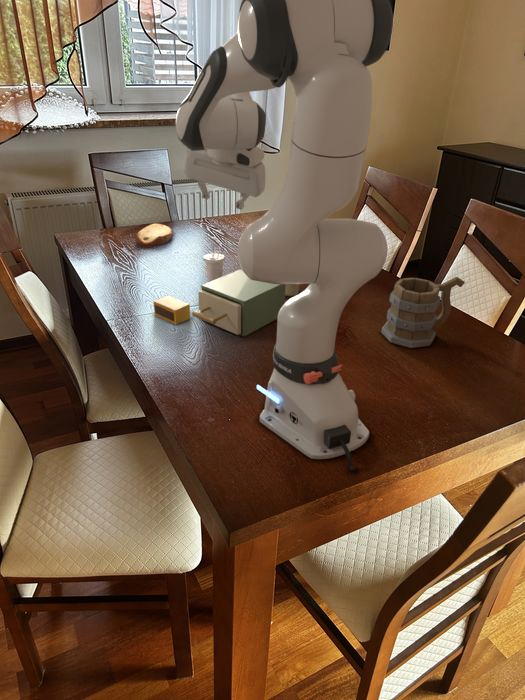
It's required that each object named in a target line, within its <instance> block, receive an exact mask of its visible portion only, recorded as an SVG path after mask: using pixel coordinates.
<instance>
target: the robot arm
mask: <svg viewBox="0 0 525 700" xmlns="http://www.w3.org/2000/svg"><path fill="white" fill-rule="evenodd" d="M393 25H394V16H393V9H392V5H391V2H390V0H241V3H240V6H239V12H238V20H237V31H236V33H235V34H233V36H232V37H231V38H230V39H229V40H227V41H226V42H225V43H224V44H222V45H220V46H219V47H217V48H215V49H214V50H213V51H212V52H211V53H210V55H209V56H208V58H207V60H206V61H205V63H204V65H203V67H202V69H201V71H200V73H199V74H198V76H197V78H196V80H195V82H194V84H193V86H192V88H191V89H190V92H189V93H188V95H187V96H186V97H185V98H184V100H183V101H182V102H181V103H180V104H179V106H178V109H177V112H176V115H175V116H176V118H175V128H176V129H175V130H176V134H177V138H178V140H179V141H180V142H181V144H182V145H183V146H185V152H186V155H185V163H184V175H185V176H186V177H187V178H188V179H190V180H195V181H197V186H198V188H199V190H200V192H201V199H203V200H209V199H210V198H211V190H209V189H208V187H207V185H208V184H209V185H210V186H211V185H212V186H214V187H215V186H216V187H219V188H222V189H226V190H229V191H232V192H237V193H240V197H241V199H238V200H236V202H235V209H238V210H241V211H243V209H244V208H245V202H246V200H247V199H248V198H249V196H250V197H254V198H257V197H259V196H261V195H262V194H263V193H264V192H265V189H266V166H265V164H264V163H263V162H262V161H264V159H265V151H264V150H262V148H260V147H258V145H259V144H260V143H261V142H262V140H263V139H264V137H265V135H266V134H265V133H266V124H267V123H266V121H267V116H266V112H265V110H264V109H263V108H262V107H261V106H260V104H259V103H258V102H256V101H255V100H253V97H252V95H251V92H260V91H268V90H269V91H270V90H273V89H276V88H278V89H279V88H281V87H283V86H284V84H285V83H287V82H286V81H288V80H289V81H290V83H291V84H292V87H293V89H294V94H295V110H294V117H293V123H292V131H291V140H290V149H289V156H288V157H289V158H288V164H287V170H286V175H285V179H284V180H285V181H284V185H283V187H282V189H281V192H280V194H279V195H278V197H277V198H276V200H275V202H273V205H271V207H270V208H269V209H268V210H267V211H266V212H265V213H264V214H263V215H262V216H260V217H259V218H257V219H256V220H254V221H252V222H251V223H250V224H248V225H247V226H246V227H245V229H244V230H243V232H242V233H241V235H240V237H239V240H238V242H237V243H238V244H237V250H236V251H237V252H236V253H237V260H238V264H239V265H240V269H242V270H243V272H244V273H245V274H246V275H247V277H249V278H250V279H251V280H255V281H260V282H265V283H271V284H299V285H304V284H305V285H306V284H309V285H308V286H307V287H306V288H305V289H304V290H303V291H301V292H300V293H298V294H297V295H295V296H291V297H290V298H289V299H287V300H285V303H284V305H283V306H282V307H281V309H280V311H279V313H278V318H277V319H276V321H277V323H276V341H275V343H274V347H273V350H272V351H273V352H272V365H273V370H272V373H271V376H270V378H269V380H268V383H267V389H265V388H263V387H262V386H261V385H259V384H257V385H256V389H257V390H258V391H259V392H261V393H262V394H264V395H265V402H264V409H263V410H262V412H261V413H260V415H259V418H258V419H259V423H261V424H262V425H263V426H265V427H266V428H267V429H269V430H270V431H272V432H273V433H274V434H276V435H277V436H278V437H280V438H281V439H282V440H284V441H285V442H287V443H288V444H290V445H291V446H293V447H294V448H295V449H297V450H298V451H299V452H301V453H302V454H303V455H305V456H306V457H308V458H310V459H311V460H327V459H333V458H336V457H340V456H343V455H346V458H347V459H346V460H347V466H348V469H349V470H350V471H351V472H355V471H356V468H355V467H354V465H353V457H352V454H351V452H353V451H355V450H357V449H358V448H360V447H362V446H363V445H364V444H366V442H367V441H368V440H369V437H370V430H369V429H368V428H367V427H366V426H365V424H364V423H363V422H362V421H361V419H360V418H359V408H358V405H357V404H356V393H355V391H354V389H348V387H347V385H346V384H345V381H344V380H343V378H342V376H341V375H340V373H339V372H340V371H342V370H343V369H342V367H343V364H339V362H338V355H337V350H336V347H335V346H336V340H337V339H336V338H337V332H338V329H339V328H338V327H339V323H340V318H341V316H342V313H343V311H344V309H345V308H346V306H347V304H348V303H349V301H350V299H351V298H352V297H353V296H354V295H355V293H356V292H357V291H358V290H359V289H360V288H361V287H363V286H364V285H365V284H366V283H368V282H370V281H371V280H373V279H375V278H376V277H377V276H378V275H379V273H380V272H381V271H382V269H383V268H384V266H385V264H386V261H387V258H388V242H387V239H386V236H385V234H384V232H383V230H382V229H381V228H380V227H379V225H378V224H376V223H374V222H369V221H365V220H359V219H355V218H327V217H329V216H330V215H332V214H334V213H336V212H338V211H340V210H342V209H343V208H345V207H346V206H348V205H349V204H350V203H351V201H352V200H353V199H354V198H355V196H356V195H357V192H358V190H359V187H360V181H361V176H362V171H363V166H364V161H365V156H366V152H367V147H368V141H369V135H370V130H371V129H370V128H371V121H372V109H373V80H372V75H371V73H370V70H369V69H368V68H367V67H369V66H372V65H374V64H375V63H377V62H378V61H380V60H381V58H382V57H383V56H384V55H385V52H386V51H387V49H388V46H389V43H390V42H391V38H392V34H393V29H394V28H393ZM206 184H207V185H206Z"/></svg>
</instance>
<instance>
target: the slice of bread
mask: <svg viewBox="0 0 525 700" xmlns="http://www.w3.org/2000/svg"><path fill="white" fill-rule="evenodd" d="M172 237H173V231H172V229H171V227H169V226H167V225H165V224H161V223H152V224H149V225H147V226H145V227H143V228H142V229H140V230H139V231H138V232H137V234H136V237H135V241H136V242H135V243H136V244H138V245H140V246H141V247H143V248H153V247H155V246H158V245H162V244H165V243H167V242H169V241H170V240H172Z"/></svg>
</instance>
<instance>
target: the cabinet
mask: <svg viewBox="0 0 525 700" xmlns="http://www.w3.org/2000/svg"><path fill="white" fill-rule="evenodd" d="M200 286H201V290H203V291H206V292H208V291H210V292H212V293H215V294H218V295H220V296H223V297H225V298H228V299H231V300H233V301H236V302H238V303H241V304H242V326H241V333H240V334H239V335H238V336H241V337H246V336H248V335H250V334H252V333H254V332H255V331H257V330H259V329H261V328H262V327H265V326H266V325H268V324H270V323H272V322H275V321H277V319H278V313H279V311H280V309H281V307H282V306H283V305H284V303H285V302H286V295H285V287H286V284H271V283H265V282H260V281H255V280H251V279H250V278H249V277H247V275H246V274H245V273H244V272H243V270H242V268H240V269H238V270H234V271H233V272H230V273H227V274H225V275H222V277H220V278H218V279H215V280H213V281H210V282H208V281H207V282H206V283H203V284H201V285H200Z"/></svg>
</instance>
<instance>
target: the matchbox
mask: <svg viewBox="0 0 525 700" xmlns="http://www.w3.org/2000/svg"><path fill="white" fill-rule="evenodd" d="M152 303H153V311H154V313H153V314H154V316H156V317H158V318H161V319H162V320H164V321H167V322H169V323H171V324H173V325H175V326H176V325H178V324H181V323H183V322H186V321H188V320H190V319H191V305H190V303H188V302H185V301H183V300H181V299H178V298H176V297H174V296H171V295H168V294H167V295H165V296H162V297H160V298H157V299H156V300H155V299H154V300H153V302H152Z"/></svg>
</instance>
